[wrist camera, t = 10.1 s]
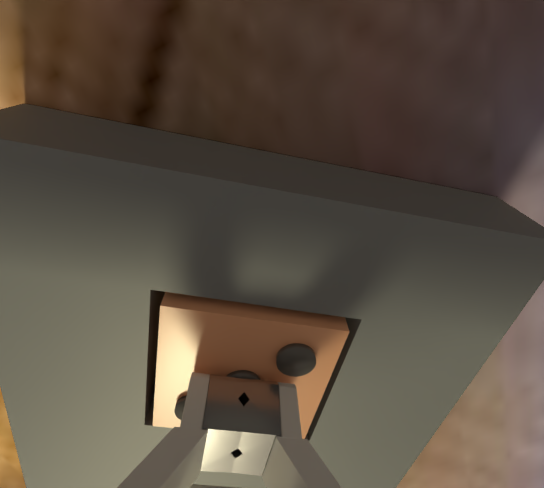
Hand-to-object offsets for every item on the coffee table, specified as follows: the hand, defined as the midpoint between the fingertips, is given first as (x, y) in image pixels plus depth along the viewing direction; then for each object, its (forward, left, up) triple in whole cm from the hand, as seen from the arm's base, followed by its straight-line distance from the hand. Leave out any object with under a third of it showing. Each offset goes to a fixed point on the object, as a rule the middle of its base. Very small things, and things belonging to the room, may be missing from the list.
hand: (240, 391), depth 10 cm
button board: (0, +9, -3) cm, 10 cm away
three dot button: (0, 0, -3) cm, 3 cm away
